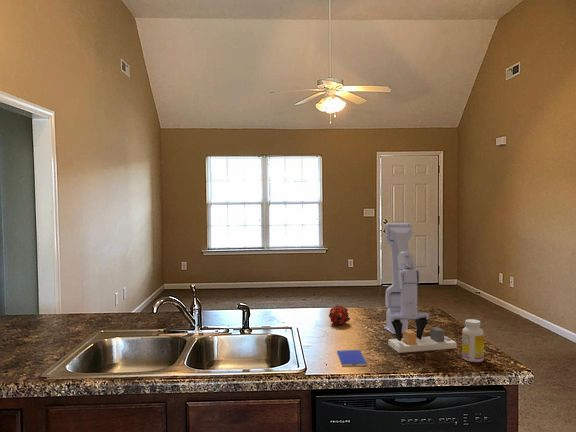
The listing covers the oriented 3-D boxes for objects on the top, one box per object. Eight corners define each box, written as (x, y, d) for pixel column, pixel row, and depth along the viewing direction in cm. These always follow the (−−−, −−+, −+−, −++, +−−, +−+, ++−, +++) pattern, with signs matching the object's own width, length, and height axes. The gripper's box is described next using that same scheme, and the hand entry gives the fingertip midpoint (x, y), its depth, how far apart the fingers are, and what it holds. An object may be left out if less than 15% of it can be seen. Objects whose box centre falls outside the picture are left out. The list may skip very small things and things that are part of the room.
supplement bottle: (485, 357, 152) (485, 319, 151) (482, 364, 146) (482, 324, 146) (464, 354, 155) (464, 317, 155) (460, 360, 149) (460, 322, 149)
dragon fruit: (340, 323, 203) (341, 335, 191) (324, 312, 203) (324, 323, 191) (351, 308, 201) (353, 319, 190) (335, 298, 201) (336, 308, 189)
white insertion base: (388, 344, 167) (388, 328, 167) (443, 340, 171) (443, 324, 171) (399, 352, 158) (398, 335, 158) (456, 348, 162) (456, 331, 162)
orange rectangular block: (402, 346, 165) (402, 329, 165) (410, 345, 166) (410, 329, 166) (408, 350, 161) (408, 333, 161) (416, 349, 161) (416, 332, 161)
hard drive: (336, 350, 158) (341, 363, 146) (360, 349, 159) (367, 362, 146) (336, 354, 158) (341, 367, 146) (360, 354, 159) (367, 367, 146)
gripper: (394, 305, 158) (395, 344, 158) (433, 303, 160) (433, 341, 161) (386, 301, 165) (386, 338, 165) (423, 299, 167) (423, 335, 168)
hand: (409, 339), depth 163 cm, fingers open, 7 cm apart
